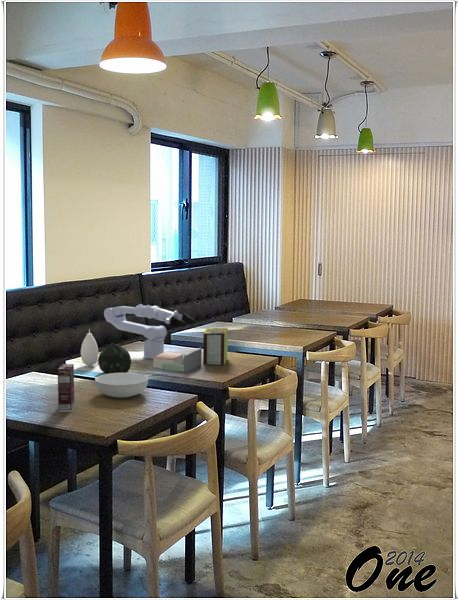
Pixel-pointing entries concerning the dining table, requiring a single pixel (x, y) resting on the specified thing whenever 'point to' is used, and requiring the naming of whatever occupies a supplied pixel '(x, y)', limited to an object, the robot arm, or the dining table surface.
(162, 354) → the carton
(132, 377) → the serving bowl
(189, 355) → the grey printed box
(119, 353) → the squash
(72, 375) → the supplement box
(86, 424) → the dining table surface
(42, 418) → the dining table surface
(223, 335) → the protein box
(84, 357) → the white teardrop bulb
